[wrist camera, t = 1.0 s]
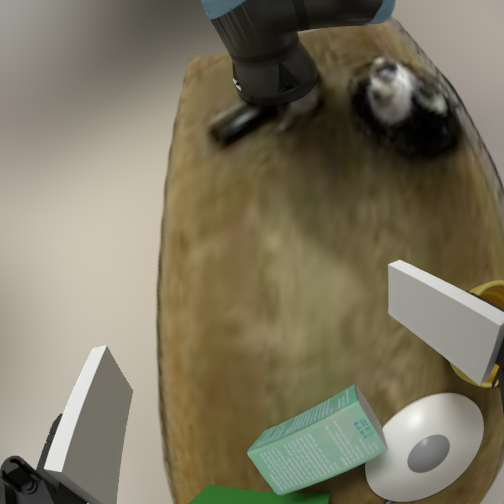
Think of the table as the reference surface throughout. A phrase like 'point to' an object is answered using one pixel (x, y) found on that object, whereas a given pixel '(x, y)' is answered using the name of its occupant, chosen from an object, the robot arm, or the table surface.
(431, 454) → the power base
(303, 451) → the box
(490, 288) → the plant pot
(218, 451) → the table surface
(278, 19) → the robot arm
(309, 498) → the hardback book
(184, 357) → the table surface
